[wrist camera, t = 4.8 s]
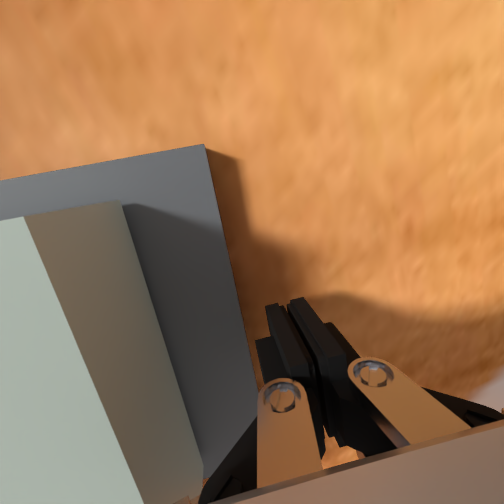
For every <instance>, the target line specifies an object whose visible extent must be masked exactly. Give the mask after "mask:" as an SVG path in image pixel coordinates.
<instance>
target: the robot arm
mask: <svg viewBox="0 0 504 504" xmlns="http://www.w3.org/2000/svg"><path fill="white" fill-rule="evenodd" d="M265 309H266V314H267V320H268V325H269V330H270V335H271V336H270V337H266V338H262V339H258V340H255V343H256V348H257V352H258V357H259V362H260V366H261V371H262V375H263V380H264V384H265V385H264V386H263V387H262V388H261V390H260V392H259V394H258V399H257V416H256V418H255V419H254V420H253V422H252V423H251V424H250V426H249V427H248V428H247V430H246V431H245V432H244V433H243V435H242V436H241V437H240V439H239V440H238V441H237V443H236V444H235V445H234V447H233V448H232V449H231V451H230V452H229V453H228V454H227V456H226V457H225V458H224V460H223V461H222V462H221V464H220V465H219V466H218V468H217V469H216V470H215V472H214V473H213V474H212V475H211V477H210V478H209V479H208V481H207V482H206V484H205V486H204V487H203V489H202V491H201V494H200V495H198V496H196V497H194V498H193V499H191V500H190V499H189V496H186V497H184V498H182V499H180V500H179V501H177V502H175V503H173V504H504V408H502V413H500V412H498V411H496V410H494V409H492V408H489V407H486V406H484V405H480V404H477V403H474V402H471V401H467V400H464V399H460V398H457V397H454V396H450V395H447V394H443V393H440V392H436V391H433V390H430V389H426V388H423V387H420V386H419V385H418V384H416V383H415V382H414V381H413V380H411V379H410V378H409V377H408V376H406V375H405V374H404V373H403V372H401V371H400V370H399V369H398V368H396V367H395V366H394V365H393V364H391V363H389V362H388V361H386V360H383V359H380V358H376V357H362V358H361V357H360V356H359V355H358V354H357V352H356V351H355V350H354V349H353V348H352V346H351V345H350V344H349V343H348V341H347V340H346V339H345V338H344V337H343V335H342V334H341V333H340V332H339V331H338V329H337V328H336V327H335V326H334V324H333V323H331V322H328V323H324V324H323V322H322V321H321V320H320V318H319V317H318V316H317V314H316V313H315V312H314V310H313V309H312V308H311V307H310V305H309V304H308V303H307V301H306V300H305V299H304V297H301V298H297V299H293V300H291V301H290V304H287V311H286V309H285V307H284V306H283V305H282V306H279V305H278V303H275V304H271V305H267V306H265ZM287 312H288V313H287ZM323 425H324V427H325V430H326V432H327V434H328V436H329V437H333V436H334V437H335V439H336V441H337V443H338V445H339V448H340V447H343V446H349V447H351V448H353V449H355V450H356V452H357V456H358V458H359V460H355V461H352V462H348V463H345V464H341V465H337V466H334V467H331V468H327V469H324V470H323V468H322V463H321V459H322V457H323V455H324V453H325V451H326V449H325V442H324V439H325V435H324V428H323Z"/></svg>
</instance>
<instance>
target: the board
mask: <svg viewBox="0 0 504 504" xmlns="http://www.w3.org/2000/svg"><path fill="white" fill-rule="evenodd" d="M115 200H120V202H121V206H122V209H123V212H124V215H125V218H126V221H127V225H128V228H129V231H130V234H131V237H132V240H133V244H134V247H135V250H136V253H137V256H138V259H139V263H140V266H141V269H142V272H143V275H144V278H145V282H146V285H147V288H148V291H149V294H150V297H151V301H152V304H153V307H154V310H155V313H156V316H157V320H158V323H159V326H160V329H161V332H162V335H163V339H164V342H165V345H166V348H167V351H168V354H169V358H170V361H171V364H172V367H173V370H174V373H175V377H176V380H177V383H178V386H179V389H180V392H181V396H182V399H183V402H184V405H185V408H186V411H187V415H188V418H189V421H190V424H191V427H192V430H193V434H194V437H195V440H196V443H197V446H198V449H199V453H200V456H201V459H202V462H203V465H204V467H203V479H205V478H209V477H211V475H212V474H213V473H214V472H215V470H216V469H217V468H218V466H219V465H220V464H221V462H222V461H223V460H224V458H225V457H226V456H227V454H228V453H229V452H230V451H231V449H232V448H233V447H234V445H235V444H236V443H237V441H238V440H239V439H240V437H241V436H242V435H243V433H244V432H245V431H246V430H247V428H248V427H249V426H250V424H251V423H252V422H253V420H254V419H255V418H256V416H257V399H258V394H259V392H258V387H257V383H256V378H255V373H254V369H253V364H252V360H251V355H250V351H249V346H248V341H247V337H246V332H245V328H244V323H243V318H242V314H241V309H240V305H239V300H238V295H237V291H236V286H235V282H234V277H233V272H232V268H231V263H230V259H229V254H228V250H227V245H226V240H225V236H224V231H223V227H222V222H221V217H220V213H219V208H218V204H217V199H216V194H215V190H214V185H213V181H212V176H211V171H210V167H209V162H208V158H207V153H206V148H205V145H204V144H200V145H195V146H189V147H183V148H178V149H172V150H167V151H161V152H156V153H150V154H145V155H139V156H134V157H128V158H123V159H117V160H112V161H106V162H101V163H95V164H90V165H84V166H79V167H73V168H67V169H62V170H56V171H51V172H45V173H40V174H34V175H29V176H23V177H18V178H12V179H7V180H1V181H0V221H2V220H8V219H13V218H18V217H23V216H29V215H35V214H40V213H46V212H52V211H58V210H63V209H69V208H75V207H81V206H86V205H92V204H98V203H104V202H109V201H115Z"/></svg>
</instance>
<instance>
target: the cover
mask: <svg viewBox="0 0 504 504" xmlns="http://www.w3.org/2000/svg"><path fill="white" fill-rule="evenodd" d="M203 467H204V465H203V462H202V459H201V456H200V453H199V449H198V446H197V443H196V440H195V437H194V434H193V430H192V427H191V424H190V421H189V418H188V415H187V411H186V408H185V405H184V402H183V399H182V396H181V392H180V389H179V386H178V383H177V380H176V377H175V373H174V370H173V367H172V364H171V361H170V358H169V354H168V351H167V348H166V345H165V342H164V339H163V335H162V332H161V329H160V326H159V323H158V320H157V316H156V313H155V310H154V307H153V304H152V301H151V297H150V294H149V291H148V288H147V285H146V282H145V278H144V275H143V272H142V269H141V266H140V263H139V259H138V256H137V253H136V250H135V247H134V244H133V240H132V237H131V234H130V231H129V228H128V225H127V221H126V218H125V215H124V212H123V209H122V206H121V202H120V200H115V201H109V202H104V203H98V204H92V205H86V206H81V207H75V208H69V209H63V210H58V211H52V212H46V213H40V214H35V215H29V216H23V217H18V218H13V219H8V220H2V221H0V504H173V503H175V502H177V501H179V500H180V499H182V498H184V497H186V496H189V499H190V500H191V499H193V498H194V497H196V496H198V495H200V494H201V491H202V487H203Z"/></svg>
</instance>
